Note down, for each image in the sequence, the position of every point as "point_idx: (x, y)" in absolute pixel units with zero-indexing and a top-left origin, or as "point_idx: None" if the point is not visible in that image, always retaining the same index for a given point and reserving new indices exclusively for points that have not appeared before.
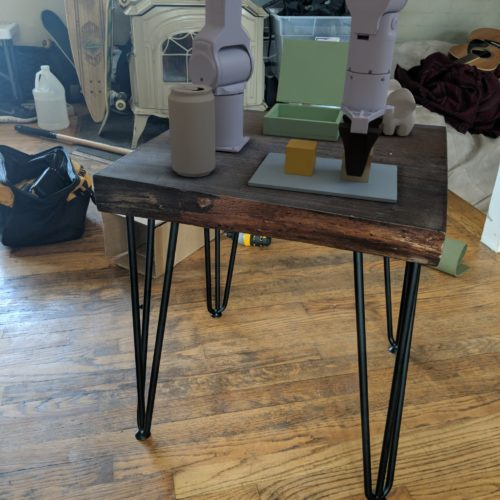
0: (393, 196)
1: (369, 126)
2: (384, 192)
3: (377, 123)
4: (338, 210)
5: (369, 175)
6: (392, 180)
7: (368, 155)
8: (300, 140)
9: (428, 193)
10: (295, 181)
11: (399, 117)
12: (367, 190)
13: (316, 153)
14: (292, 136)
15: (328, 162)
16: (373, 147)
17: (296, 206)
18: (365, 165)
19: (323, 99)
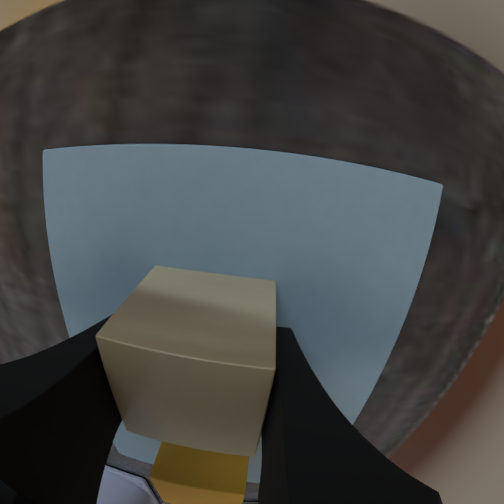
0: (415, 191)
1: (42, 448)
2: (380, 223)
3: (7, 439)
4: (459, 350)
5: (274, 297)
6: (217, 168)
7: (329, 399)
8: (165, 495)
9: (303, 26)
10: None
11: None
12: (362, 288)
13: (170, 451)
14: None
15: None
16: (102, 337)
17: (421, 418)
18: (305, 358)
19: None
